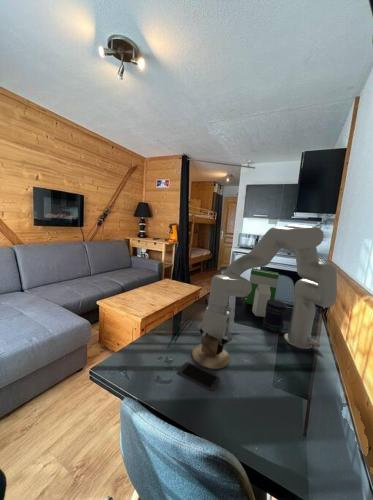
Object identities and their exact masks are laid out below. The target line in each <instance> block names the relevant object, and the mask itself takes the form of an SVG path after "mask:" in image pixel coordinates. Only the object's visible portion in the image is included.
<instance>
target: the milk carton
mask: <svg viewBox="0 0 373 500" xmlns="http://www.w3.org/2000/svg"><path fill="white" fill-rule="evenodd" d="M270 296H271V291H270V286H268V285H260V284H258V287H257V288H256V291H255V297H254V303H253V305H252V309H251V311H252V314H254V316H256V317H263V318H264V317H265V314H266V305H267V300H270Z"/></svg>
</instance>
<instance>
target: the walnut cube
mask: <svg viewBox="0 0 373 500" xmlns="http://www.w3.org/2000/svg"><path fill="white" fill-rule="evenodd" d="M201 344H202V349H201V351H202V352H204V353H206V354H208V355H210V356H212V357H214V358H215V357H216V356H217V355H218V354H217V349H218V345H219V339H218V337H215V336H213V335H211V334H206V335H205V336H204V337H203V342H202V341H201Z"/></svg>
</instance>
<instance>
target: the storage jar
mask: <svg viewBox="0 0 373 500" xmlns="http://www.w3.org/2000/svg"><path fill="white" fill-rule="evenodd" d="M287 306H288V305H287V304H286V303H284V302H283V301H280V300H276V299H274V300H267V305H266V314H265V317H263V323H262V328H263V330H264V331H266V332H268V333H269V334H273V335H280V334H282V332H283V331H282V330H283V327H284V319H285V316H286V312H287V311H286V310H287Z"/></svg>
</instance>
